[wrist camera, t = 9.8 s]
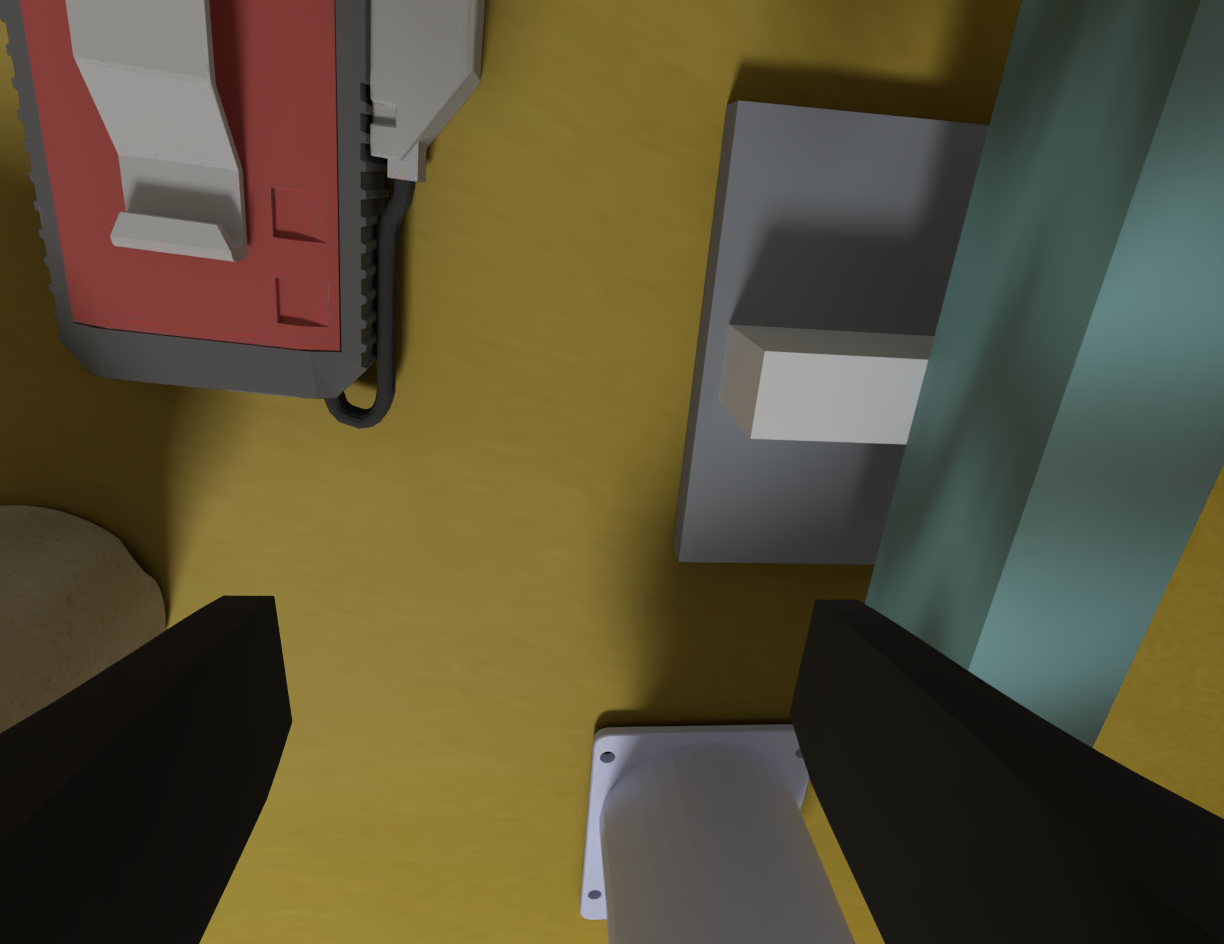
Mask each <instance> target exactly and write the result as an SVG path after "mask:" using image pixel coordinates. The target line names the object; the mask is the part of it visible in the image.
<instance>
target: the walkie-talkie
mask: <svg viewBox="0 0 1224 944" xmlns="http://www.w3.org/2000/svg"><path fill="white" fill-rule="evenodd" d="M484 10H485V0H0V16H1V21H3V22H5V23H6V26H7V32H8V38H9V44H7V45H6V49H7V54H8V55H9V56H11V57H12V60H13V66H14V71H15V77H13V78H12V83H13V87H14V88H15V89H17V90H18V95H19V101H20V106H21V109H20V110H17V111H18V116H19V120H21V121H22V122H23V123H24V129H25V134H26V141H23V145H24V150H25V151H26V152H28V153H29V158H30V164H31V169H32V171H29V172H28V173H29V179H30V181H32V182H33V183H34V186H35V192H36V198H37V200H35V201H34V207H35V210H37V211H38V212H39V215H40V220H41V226H42V229H39V235H40V238H42V239H43V240H44V243H45V249H46V255H47V256H46V257H43V258H44V263H45V265H46V266H47V267H49V272H50V278H51V283H50V284H48V286H49V291H50V292H51V293H53V295H54V301H55V306H56V309H55V310H53V314H54V317H55V318H56V319H57V320H58V323H59V329H60V334H59V335H57V338H58V339H59V340H60V341H61V342H62V343H63V344H64V346H65V347H66V348H67V349H68V350H69V351H70V352H71V353H72V354H73V356H74V357H75V358H76V359H77V360H78V361H79V362H80V363H81V365H82V366H83V367H84V368H85V369H86V370H87V371H88V372H89V373H91V374H93V375H96V376H99V377H103V378H110V379H118V380H128V381H138V382H148V383H158V384H168V385H178V386H188V387H198V388H208V389H218V390H228V391H238V392H248V393H258V394H268V395H278V396H288V397H299V398H312V399H324V400H325V402H326V405H327V407H328V409H329V412H330V413H331V414H332V415H333V416H334V417H335V418H336V419H337V420H338V421H339V422H341V423H344V424H347V425H350V426H353V427H356V428H359V429H360V428H368V427H373V426H374V425H376V424H377V423H379V422H380V421H381V420H382V419H383V418H384V416H385V415H386V414H387V412H388V410H389V409H390V407H391V404H392V401H393V398H394V395H395V379H396V309H397V263H398V242H399V229H400V225H401V222H402V219H403V217H404V215H405V214H406V212H407V210H408V209H409V207H410V205H411V203H412V199H413V195H414V190H415V182H425V179H426V149H427V148H428V146H429V145H430V144H431V143H432V141H433V140H434V139H435V138H436V137H437V135H438V134H439V133H440V132H441V130H442V129H443V128H444V127H445V126H446V124H447V123H448V122H449V121H450V119H451V118H452V117H453V116H454V115H455V113H456V112H457V111H458V110H459V108H460V107H461V106H462V105H463V104H464V102H465V101H466V100H467V99H468V97H469V96H470V95H471V94H472V93H473V91H474V90H475V89H476V87H477V86H478V84H479V83H480V75H481V59H482V42H483V26H484ZM385 158H386V159H388V165H387V164H386V163H385ZM386 173H387V177H388V178H394V194H393V195H392V197H391V199H390V201H389V203H388V204H387V206H386V208H385V198H387V197H389V190H388V189H386V188H385V174H386ZM376 360H377V393H376V399H375V402H374V404H373V406H372V407H371V408H369V409H362V408H359V407H356V406H353V405H351V404H350V403H349V402H348V401H347V399H346V396H345V394H344V390H345V389H346V388H347V387H349V386H350V385H351V384H352V383H353V382H354V381H355V380H356V379H357V378H358V377H360V376H361V375H362V374H363V373H364V372H365V371H366V370H367V369H368V368H369V367H370V366H371V365H372V364H373V363H374V362H375V361H376Z"/></svg>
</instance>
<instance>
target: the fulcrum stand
mask: <svg viewBox="0 0 1224 944" xmlns="http://www.w3.org/2000/svg"><path fill="white" fill-rule="evenodd" d="M988 129H989V125H982V124H972V123H962V122H952V121H942V120H932V119H922V118H912V117H901V116H891V115H881V114H871V113H861V112H851V111H841V110H830V109H820V108H810V107H800V106H790V105H780V104H770V103H760V102H749V101H739V100H738V101H736V102H734V103H731V104H729V105H727V110H726V118H725V126H724V134H723V142H722V150H721V158H720V166H719V174H718V182H717V190H716V198H715V207H714V215H713V223H712V231H711V239H710V247H709V255H708V263H707V271H706V279H705V287H704V295H703V303H702V311H701V320H700V328H699V336H698V344H697V352H696V360H695V368H694V376H693V384H692V392H691V400H690V408H689V416H688V424H687V433H686V441H685V449H684V457H683V465H682V473H681V481H680V489H679V497H678V505H677V513H676V521H675V529H674V537H673V548H674V551H675V553H676V556H677V559H678V562H710V563H785V564H859V565H875V562H876V559H877V555H878V551H879V547H880V543H881V539H882V536H883V532H884V528H885V524H886V520H887V516H888V513H889V509H890V505H891V501H892V497H893V493H894V490H895V486H896V482H897V478H898V474H899V470H900V466H901V463H902V459H903V455H904V451H905V447H906V443H907V440H908V436H909V432H910V428H911V424H912V420H913V417H914V413H915V409H916V405H917V401H918V397H919V394H920V390H921V386H922V382H923V378H924V374H925V371H926V367H927V363H928V359H929V355H930V351H931V348H932V344H933V340H934V336H935V332H936V328H937V325H938V321H939V317H940V313H941V309H942V305H943V302H944V298H945V294H946V290H947V286H948V282H949V278H950V275H951V271H952V267H953V263H954V259H955V255H956V252H957V248H958V244H959V240H960V236H961V232H962V229H963V225H964V221H965V217H966V213H967V209H968V206H969V202H970V198H971V194H972V190H973V186H974V183H975V179H976V175H977V171H978V167H979V163H980V160H981V156H982V152H983V148H984V144H985V140H986V137H987V133H988Z"/></svg>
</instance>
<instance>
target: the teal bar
mask: <svg viewBox="0 0 1224 944" xmlns="http://www.w3.org/2000/svg"><path fill="white" fill-rule="evenodd" d="M1223 464H1224V0H1022V2H1021V6H1020V10H1019V14H1018V18H1017V21H1016V25H1015V29H1014V33H1013V37H1012V41H1011V44H1010V48H1009V52H1008V56H1007V60H1006V64H1005V67H1004V71H1003V75H1002V79H1001V83H1000V87H999V90H998V94H997V98H996V102H995V106H994V110H993V114H992V117H991V121H990V125H989V129H988V133H987V137H986V140H985V144H984V148H983V152H982V156H981V160H980V163H979V167H978V171H977V175H976V179H975V183H974V186H973V190H972V194H971V198H970V202H969V206H968V209H967V213H966V217H965V221H964V225H963V229H962V232H961V236H960V240H959V244H958V248H957V252H956V255H955V259H954V263H953V267H952V271H951V275H950V278H949V282H948V286H947V290H946V294H945V298H944V302H943V305H942V309H941V313H940V317H939V321H938V325H937V328H936V332H935V336H934V340H933V344H932V348H931V351H930V355H929V359H928V363H927V367H926V371H925V374H924V378H923V382H922V386H921V390H920V394H919V397H918V401H917V405H916V409H915V413H914V417H913V420H912V424H911V428H910V432H909V436H908V440H907V443H906V447H905V451H904V455H903V459H902V463H901V466H900V470H899V474H898V478H897V482H896V486H895V490H894V493H893V497H892V501H891V505H890V509H889V513H888V516H887V520H886V524H885V528H884V532H883V536H882V539H881V543H880V547H879V551H878V555H877V559H876V562H875V566H874V570H873V574H872V578H871V582H870V585H869V589H868V593H867V597H866V601H865V605H867V606H869V607H871V608H873V609H874V610H876V611H878V612H879V613H881V614H883V615H884V616H886V617H887V618H889V619H891V620H892V621H894V622H895V623H897V624H898V625H900V626H901V627H903V628H904V629H906V630H908V631H909V632H911V633H912V634H914V635H915V636H917V637H918V638H920V639H921V640H923V641H924V642H926V643H927V644H929V645H930V646H932V647H933V648H935V649H936V650H938V651H939V652H941V653H942V654H944V655H945V656H947V657H948V658H950V659H951V660H953V661H954V662H956V663H957V664H959V665H960V666H962V667H963V668H965V669H966V670H968V671H969V672H971V673H972V674H974V675H976V676H977V677H979V678H980V679H982V680H983V681H985V682H986V683H988V684H989V685H991V686H992V687H994V688H996V689H997V690H999V691H1000V692H1002V693H1003V694H1005V695H1006V696H1008V697H1010V698H1011V699H1013V700H1014V701H1016V702H1017V703H1019V704H1021V705H1022V706H1024V707H1025V708H1027V709H1029V710H1030V711H1032V712H1033V713H1035V714H1037V715H1038V716H1040V717H1041V718H1043V719H1045V720H1046V721H1048V722H1050V723H1051V724H1053V725H1055V726H1056V727H1058V728H1060V729H1061V730H1063V731H1065V732H1066V733H1068V734H1070V735H1071V736H1073V737H1075V738H1076V739H1078V740H1080V741H1082V742H1083V743H1085V744H1087V745H1088V746H1090V747H1093V745H1094V743H1095V741H1096V739H1097V737H1098V735H1099V732H1100V730H1101V728H1102V726H1103V724H1104V722H1105V719H1106V717H1107V715H1108V713H1109V711H1110V709H1111V706H1112V704H1113V702H1114V700H1115V698H1116V696H1117V693H1118V691H1119V689H1120V687H1121V685H1122V683H1123V680H1124V678H1125V676H1126V674H1127V672H1128V670H1129V667H1130V665H1131V663H1132V661H1133V659H1134V657H1135V654H1136V652H1137V650H1138V648H1139V646H1140V644H1141V641H1142V639H1143V637H1144V635H1145V633H1146V631H1147V629H1148V626H1149V624H1150V622H1151V620H1152V618H1153V616H1154V613H1155V611H1156V609H1157V607H1158V605H1159V603H1160V600H1161V598H1162V596H1163V594H1164V592H1165V590H1166V587H1167V585H1168V583H1169V581H1170V579H1171V577H1172V574H1173V572H1174V570H1175V568H1176V566H1177V564H1178V561H1179V559H1180V557H1181V555H1182V553H1183V551H1184V548H1185V546H1186V544H1187V542H1188V540H1189V538H1190V535H1191V533H1192V531H1193V529H1194V527H1195V525H1196V523H1197V520H1198V518H1199V516H1200V514H1201V512H1202V510H1203V507H1204V505H1205V503H1206V501H1207V499H1208V497H1209V494H1210V492H1211V490H1212V488H1213V486H1214V484H1215V481H1216V479H1217V477H1218V475H1219V473H1220V471H1221V468H1222V466H1223Z"/></svg>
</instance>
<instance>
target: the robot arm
mask: <svg viewBox="0 0 1224 944" xmlns="http://www.w3.org/2000/svg"><path fill="white" fill-rule="evenodd" d="M790 717H791V720H792V724H780V725H719V726H659V727H608V728H603V729H601V730H599V731H598V732H597V733H596V734H595V735H594V738H593V748H592V760H591V773H590V785H589V797H588V809H587V821H586V833H585V846H584V858H583V870H582V882H581V894H580V913H581V915H582V916H583V917H584V918H586V919H590V920H596V919H607V929H608V941H609V944H855V942H854V939H853V937H852V934H851V932H850V930H849V927H848V925H847V922H846V920H845V918H844V915H843V913H842V910H841V908H840V906H839V903H838V901H837V898H836V896H835V894H834V891H833V889H832V886H831V884H830V882H829V879H828V877H827V874H826V872H825V870H824V867H823V865H822V862H821V860H820V857H819V855H818V853H817V850H816V848H815V845H814V843H813V841H812V838H811V836H810V833H809V831H808V829H807V826H806V824H805V821H804V819H803V817H802V814H801V812H800V811H801V807H802V803H803V800H804V796H805V792H806V788H807V784H808V780H809V778H810V781H811V783H812V786H813V788H814V790H815V793H816V795H817V797H818V799H819V802H820V804H821V806H822V808H823V810H824V813H825V815H826V817H827V819H828V821H829V824H830V826H831V828H832V830H833V832H834V835H835V837H836V839H837V841H838V843H839V845H840V848H841V850H842V852H843V854H844V856H845V858H846V861H847V863H848V865H849V867H850V869H851V871H852V873H853V876H854V878H855V880H856V882H857V884H858V886H859V888H860V891H861V893H862V895H863V897H864V899H865V901H866V903H867V906H868V908H869V910H870V912H871V914H872V916H873V919H874V921H875V923H876V925H877V927H878V929H879V931H880V934H881V936H882V938H883V940H884V942H885V944H1224V819H1223V818H1221V817H1219V816H1217V815H1215V814H1213V813H1211V812H1209V811H1207V810H1205V809H1203V808H1201V807H1200V806H1198V805H1196V804H1194V803H1192V802H1190V801H1188V800H1186V799H1184V798H1183V797H1181V796H1179V795H1177V794H1175V793H1173V792H1171V791H1169V790H1167V789H1166V788H1164V787H1162V786H1160V785H1158V784H1156V783H1154V782H1152V781H1150V780H1148V779H1147V778H1145V777H1143V776H1141V775H1139V774H1137V773H1135V772H1134V771H1132V770H1130V769H1128V768H1127V767H1125V766H1123V765H1121V764H1119V763H1118V762H1116V761H1114V760H1112V759H1110V758H1109V757H1107V756H1105V755H1103V754H1102V753H1100V752H1098V751H1097V750H1095V749H1093V748H1092V747H1090V746H1088V745H1087V744H1085V743H1083V742H1082V741H1080V740H1078V739H1076V738H1075V737H1073V736H1071V735H1070V734H1068V733H1066V732H1065V731H1063V730H1061V729H1060V728H1058V727H1056V726H1055V725H1053V724H1051V723H1050V722H1048V721H1046V720H1045V719H1043V718H1041V717H1040V716H1038V715H1037V714H1035V713H1033V712H1032V711H1030V710H1029V709H1027V708H1025V707H1024V706H1022V705H1021V704H1019V703H1017V702H1016V701H1014V700H1013V699H1011V698H1010V697H1008V696H1006V695H1005V694H1003V693H1002V692H1000V691H999V690H997V689H996V688H994V687H992V686H991V685H989V684H988V683H986V682H985V681H983V680H982V679H980V678H979V677H977V676H976V675H974V674H972V673H971V672H969V671H968V670H966V669H965V668H963V667H962V666H960V665H959V664H957V663H956V662H954V661H953V660H951V659H950V658H948V657H947V656H945V655H944V654H942V653H941V652H939V651H938V650H936V649H935V648H933V647H932V646H930V645H929V644H927V643H926V642H924V641H923V640H921V639H920V638H918V637H917V636H915V635H914V634H912V633H911V632H909V631H908V630H906V629H904V628H903V627H901V626H900V625H898V624H897V623H895V622H894V621H892V620H891V619H889V618H887V617H886V616H884V615H883V614H881V613H879V612H878V611H876V610H874V609H873V608H871V607H869V606H867V605H865V604H864V603H862V602H860V601H858V600H815V604H814V609H813V613H812V618H811V622H810V626H809V631H808V635H807V640H806V644H805V648H804V653H803V657H802V662H801V666H800V671H799V675H798V679H797V684H796V688H795V693H794V697H793V702H792V706H791V710H790ZM291 724H292V716H291V709H290V702H289V695H288V688H287V681H286V674H285V667H284V661H283V654H282V647H281V640H280V633H279V626H278V619H277V612H276V605H275V598H274V596H222V597H220V598H219V599H217V600H215V601H213V602H211V603H209V604H208V605H206V606H204V607H203V608H201V609H199V610H198V611H196V612H194V613H193V614H191V615H190V616H188V617H186V618H185V619H183V620H182V621H180V622H178V623H177V624H175V625H174V626H172V627H171V628H169V629H167V630H166V631H164V632H163V633H161V634H160V635H158V636H157V637H155V638H153V639H152V640H150V641H149V642H147V643H146V644H144V645H143V646H141V647H139V648H138V649H136V650H135V651H133V652H132V653H130V654H129V655H127V656H125V657H124V658H122V659H121V660H119V661H118V662H116V663H114V664H113V665H111V666H110V667H108V668H106V669H105V670H103V671H102V672H100V673H99V674H97V675H95V676H94V677H92V678H91V679H89V680H88V681H86V682H84V683H83V684H81V685H80V686H78V687H77V688H75V689H73V690H72V691H70V692H69V693H67V694H65V695H64V696H62V697H61V698H59V699H57V700H56V701H54V702H53V703H51V704H49V705H48V706H46V707H44V708H42V709H41V710H39V711H37V712H36V713H34V714H32V715H31V716H29V717H27V718H26V719H24V720H22V721H20V722H19V723H17V724H15V725H14V726H12V727H10V728H9V729H7V730H5V731H4V732H2V733H0V944H199V943H200V941H201V938H202V936H203V934H204V932H205V930H206V928H207V926H208V924H209V922H210V919H211V917H212V915H213V913H214V911H215V909H216V907H217V905H218V903H219V900H220V898H221V896H222V894H223V892H224V890H225V888H226V886H227V884H228V881H229V879H230V877H231V875H232V873H233V871H234V869H235V867H236V865H237V862H238V860H239V858H240V856H241V854H242V852H243V850H244V847H245V845H246V843H247V841H248V839H249V837H250V835H251V832H252V830H253V828H254V826H255V824H256V822H257V819H258V817H259V815H260V813H261V811H262V808H263V806H264V804H265V802H266V800H267V797H268V794H269V791H270V788H271V785H272V782H273V780H274V777H275V774H276V771H277V768H278V765H279V762H280V759H281V756H282V752H283V749H284V746H285V743H286V740H287V736H288V733H289V730H290V727H291ZM798 749H800V750H798ZM608 751H609V752H611V753H609V754H602V753H604V752H608Z"/></svg>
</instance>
